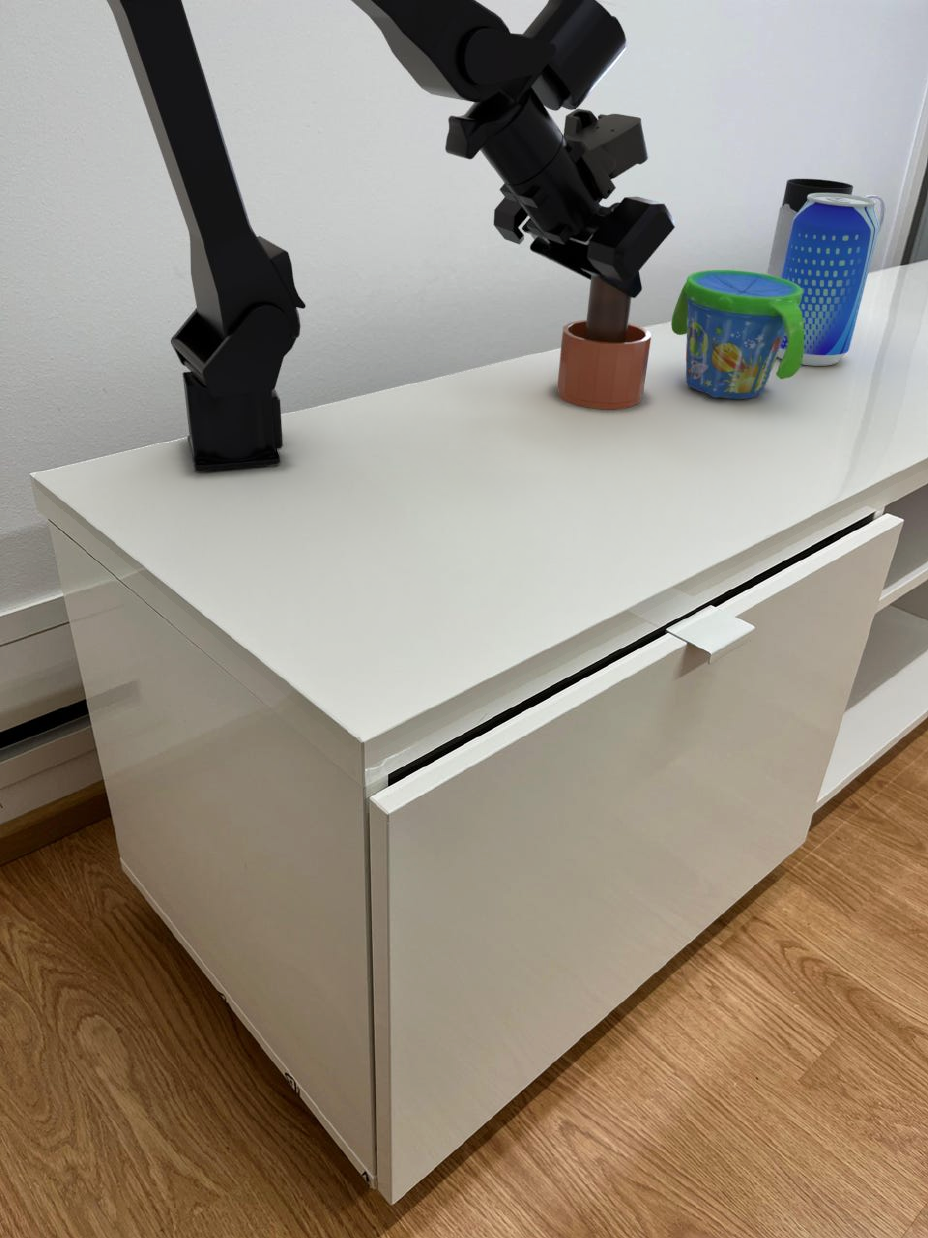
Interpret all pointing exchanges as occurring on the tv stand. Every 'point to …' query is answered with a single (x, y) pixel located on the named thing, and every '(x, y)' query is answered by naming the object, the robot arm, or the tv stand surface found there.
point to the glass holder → (792, 205)
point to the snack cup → (738, 330)
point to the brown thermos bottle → (607, 313)
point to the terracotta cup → (602, 368)
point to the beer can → (830, 270)
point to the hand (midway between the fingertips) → (623, 288)
